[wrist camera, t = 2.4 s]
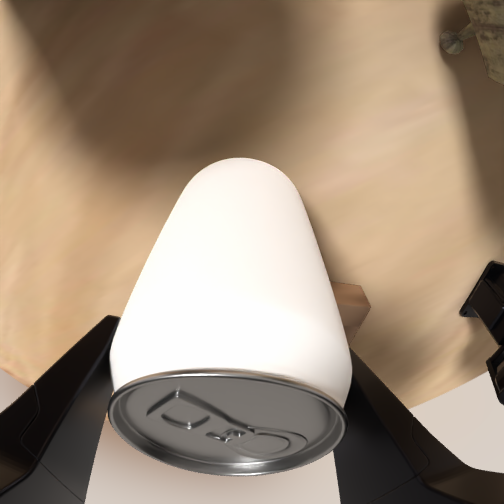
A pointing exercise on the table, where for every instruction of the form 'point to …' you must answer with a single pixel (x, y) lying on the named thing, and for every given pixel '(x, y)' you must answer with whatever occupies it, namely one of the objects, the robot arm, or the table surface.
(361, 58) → the table surface
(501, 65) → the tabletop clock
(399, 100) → the table surface
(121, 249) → the table surface
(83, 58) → the table surface
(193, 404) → the can
